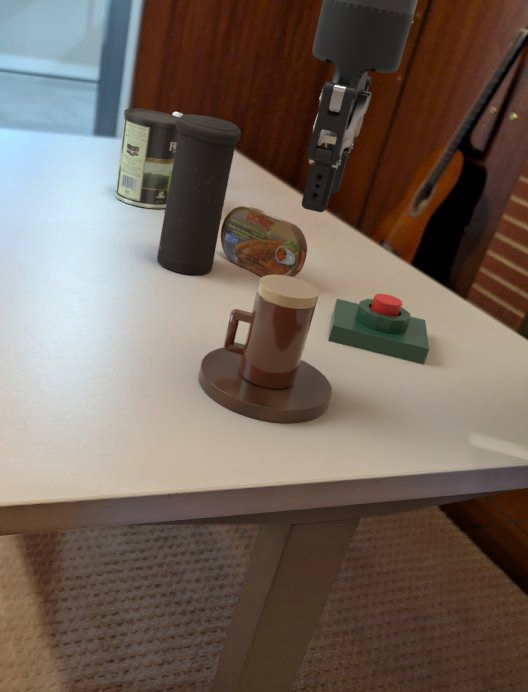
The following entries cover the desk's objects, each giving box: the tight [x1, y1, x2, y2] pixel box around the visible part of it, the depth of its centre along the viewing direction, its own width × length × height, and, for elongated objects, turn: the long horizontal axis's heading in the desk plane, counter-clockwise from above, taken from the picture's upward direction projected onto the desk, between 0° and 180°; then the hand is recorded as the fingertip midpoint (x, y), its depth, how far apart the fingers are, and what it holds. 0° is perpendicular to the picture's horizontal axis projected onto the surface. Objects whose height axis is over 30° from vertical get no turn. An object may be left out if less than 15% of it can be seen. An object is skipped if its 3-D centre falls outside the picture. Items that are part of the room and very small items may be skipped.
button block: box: [327, 298, 430, 365], centre depth 97 cm, size 12×10×4 cm
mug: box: [223, 275, 320, 389], centre depth 77 cm, size 8×6×10 cm
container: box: [156, 113, 242, 275], centre depth 103 cm, size 9×9×20 cm
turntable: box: [198, 346, 333, 424], centre depth 80 cm, size 14×14×2 cm
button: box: [370, 293, 403, 317], centre depth 95 cm, size 4×4×2 cm
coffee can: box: [114, 108, 179, 210], centre depth 130 cm, size 10×10×14 cm
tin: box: [220, 205, 308, 278], centre depth 110 cm, size 15×3×8 cm, turn 43°
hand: (320, 200), depth 70 cm, fingers open, 8 cm apart
